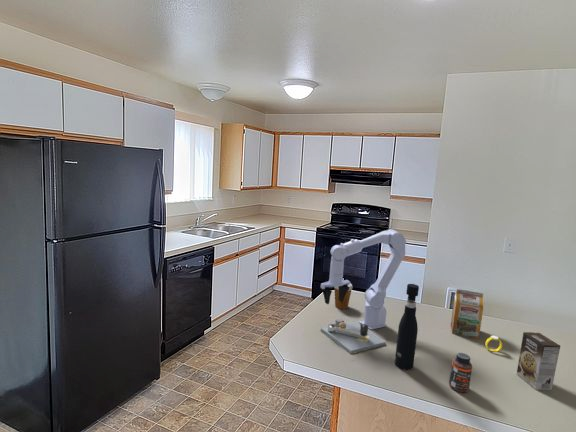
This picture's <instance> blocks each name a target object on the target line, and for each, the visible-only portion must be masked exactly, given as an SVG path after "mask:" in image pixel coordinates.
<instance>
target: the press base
mask: <svg viewBox="0 0 576 432" xmlns="http://www.w3.org/2000/svg"><path fill="white" fill-rule="evenodd" d="M334 325H337V327H340V328H345V329H349V330H353V331H358V332H360V327H361V324H360V323H358V322H356V321H349V322H348V321H347V322H345V320H344V319H342V318H339V319H336V320H335V324H334ZM327 329H328V326H324V327H320V332H322V333H323V334H324V335H326V336H327V337H328V338H329V339H331V340H332V341H333V342H334V343H336V344H337V345H338V346H340V347H341V348H342V349H343V350H345V351H346V352H347V353H348V354H350V355H351V354H355V353H359V352H363V351H367V350H370V349H374V348H378V347H382V346H386V344H387V340H384V339H383V338H382V337H380V336H377V335H376V334H374V333H373V332H371V331H370V330H368V334H367V336H366V339H362V338H358V337H354V336H349V335H345V334H341V333H336V332H329V331H328V330H327Z"/></svg>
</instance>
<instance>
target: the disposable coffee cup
mask: <svg viewBox="0 0 576 432" xmlns="http://www.w3.org/2000/svg"><path fill="white" fill-rule="evenodd" d="M348 287H349V290H348V291H347V293H346V295H345V297H344V300H343V302H341V301H339V287H338V286H337V287H333V288H334V305H335V306H334V307H335V308H337V309H340V310H346V309H348V307H349V304H350V303H349V302H350V299H351V296H352V295H351V294H352V290H353V284H352V283H351V282H350V285H349V286H348Z"/></svg>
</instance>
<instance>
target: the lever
mask: <svg viewBox="0 0 576 432" xmlns="http://www.w3.org/2000/svg"><path fill="white" fill-rule="evenodd" d="M360 325H361V327H360V332H358V331H353V330H349V329H345V328H340V327H337V325H335V324H333V323H330V324H328V325H327V327H328V329H327V330H328V331H329V332H336V333H341V334H345V335H349V336H354V337H358V338H362V339H366V336H367V334H368V331H369V328H368V325H366V324H361V323H360Z"/></svg>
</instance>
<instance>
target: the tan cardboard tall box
mask: <svg viewBox="0 0 576 432" xmlns="http://www.w3.org/2000/svg"><path fill="white" fill-rule="evenodd" d="M452 304H453V305H452V311H451V319H450V329H451V334H453V335H458V336H463V337H467V338H471V339H478V340H479V339H480V332H481V327H482V319H483V312H484V293H483V292H479V291H474V290H467V289H461V288H456V290H455V293H454V298H453V303H452Z"/></svg>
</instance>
